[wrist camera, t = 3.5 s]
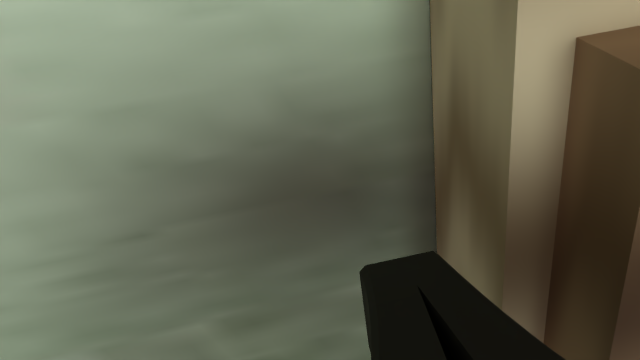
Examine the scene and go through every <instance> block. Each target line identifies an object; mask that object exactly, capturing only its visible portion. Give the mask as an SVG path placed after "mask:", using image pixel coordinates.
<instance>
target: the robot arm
mask: <svg viewBox="0 0 640 360" xmlns="http://www.w3.org/2000/svg"><path fill="white" fill-rule="evenodd" d="M360 280H361V288H362V296H363V304H364V311H365V319H366V327H367V335H368V343H369V348H370V352H371V360H566V359H564V358H563V357H562V356H560V355H559V354H557V353H556V352H555V351H553V350H552V349H550V348H549V347H548V346H547V345H545V344H544V343H543V342H541V341H540V340H539V339H537V338H536V337H535V336H533V335H532V334H531V333H530V332H528V331H527V330H526V329H525V328H523V327H522V326H521V325H520V324H518V323H517V322H516V321H515V320H513V319H512V318H511V317H510V316H508V315H507V314H506V313H504V312H503V311H502V310H501V309H500V308H498V307H497V306H496V305H495V304H494V303H492V302H491V301H490V300H489V299H488V298H487V297H485V296H484V295H483V294H482V293H481V292H480V291H478V290H477V289H476V288H475V287H474V286H473V285H472V284H470V283H469V282H468V281H467V280H466V279H465V278H464V277H463V276H461V275H460V274H459V273H458V272H457V271H456V270H455V269H454V268H453V267H452V266H451V265H449V264H448V263H447V262H446V261H445V260H444V259H443V258H442V257H441V256H440V255H438V254H437V253H435V252H434V251H430V252H426V253H421V254H416V255H412V256H407V257H403V258H398V259H393V260H389V261H384V262H380V263H375V264H370V265H366V266H364V268H363V269H362V270H361V271H360Z"/></svg>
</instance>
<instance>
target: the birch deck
mask: <svg viewBox="0 0 640 360" xmlns="http://www.w3.org/2000/svg"><path fill="white" fill-rule="evenodd" d="M430 23H431V58H432V93H433V129H434V164H435V199H436V234H437V254H438V255H440V256H441V257H442V258H443V259H444V260H445V261H446V262H447V263H448V264H449V265H451V266H452V267H453V268H454V269H455V270H456V271H457V272H458V273H459V274H460V275H461V276H463V277H464V278H465V279H466V280H467V281H468V282H469V283H470V284H472V285H473V286H474V287H475V288H476V289H477V290H478V291H480V292H481V293H482V294H483V295H484V296H485V297H487V298H488V299H489V300H490V301H491V302H492V303H494V304H495V305H496V306H497V307H498V308H500V309H501V310H502V311H503V312H504V313H506V314H507V315H508V316H510V317H511V318H512V319H513V320H515V321H516V322H517V323H518V324H520V325H521V326H522V327H523V328H525V329H526V330H527V331H528V332H530V333H531V334H532V335H533V336H535V337H536V338H537V339H539V340H540V341H541V342H543V343H544V333H545V324H546V315H547V306H548V296H549V287H550V278H551V269H552V259H553V250H554V241H555V232H556V222H557V213H558V204H559V195H560V185H561V176H562V167H563V158H564V148H565V139H566V130H567V121H568V111H569V102H570V93H571V84H572V74H573V65H574V56H575V47H576V37H581V36H586V35H592V34H597V33H602V32H608V31H613V30H618V29H624V28H629V27H634V26H640V0H430Z"/></svg>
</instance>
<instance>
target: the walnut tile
mask: <svg viewBox="0 0 640 360" xmlns="http://www.w3.org/2000/svg"><path fill="white" fill-rule="evenodd" d="M544 344H545V345H547V346H548V347H549V348H550V349H552V350H553V351H555V352H556V353H557V354H559V355H560V356H562V357H563V358H564V359H566V360H640V26H634V27H629V28H624V29H618V30H613V31H608V32H602V33H597V34H592V35H586V36H581V37H576V47H575V56H574V65H573V74H572V84H571V93H570V102H569V111H568V121H567V130H566V139H565V148H564V158H563V167H562V176H561V185H560V195H559V204H558V213H557V222H556V232H555V241H554V250H553V259H552V269H551V278H550V287H549V296H548V306H547V315H546V324H545V333H544Z"/></svg>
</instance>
